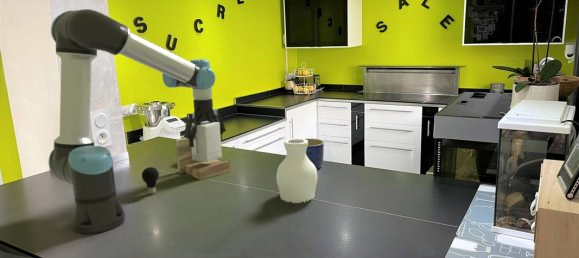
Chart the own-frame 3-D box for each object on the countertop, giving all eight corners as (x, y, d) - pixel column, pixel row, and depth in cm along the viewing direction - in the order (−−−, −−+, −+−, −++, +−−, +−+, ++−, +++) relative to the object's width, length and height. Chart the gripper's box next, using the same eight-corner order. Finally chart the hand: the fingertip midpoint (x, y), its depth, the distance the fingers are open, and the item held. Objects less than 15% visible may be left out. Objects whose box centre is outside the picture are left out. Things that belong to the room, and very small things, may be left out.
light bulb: (163, 193, 157) (161, 167, 154) (149, 198, 152) (146, 171, 150) (155, 189, 160) (152, 164, 158) (140, 194, 156) (137, 167, 154)
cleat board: (234, 170, 180) (232, 138, 177) (194, 180, 169) (192, 146, 166) (216, 163, 191) (214, 132, 188) (178, 172, 180) (175, 139, 177)
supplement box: (222, 157, 179) (220, 122, 175) (207, 163, 171) (205, 126, 168) (206, 154, 184) (204, 120, 180) (191, 159, 176) (188, 124, 173)
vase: (292, 186, 159) (290, 134, 155) (325, 194, 151) (325, 138, 147) (268, 199, 148) (266, 143, 144) (303, 207, 140) (301, 148, 136)
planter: (305, 161, 190) (304, 137, 188) (329, 165, 183) (329, 140, 181) (288, 168, 181) (288, 143, 178) (313, 173, 173) (313, 147, 171)
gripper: (223, 94, 182) (226, 145, 187) (171, 100, 168) (176, 155, 173) (232, 96, 176) (235, 148, 181) (179, 102, 162) (184, 159, 167)
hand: (206, 151), depth 177 cm, fingers closed on supplement box, 10 cm apart
